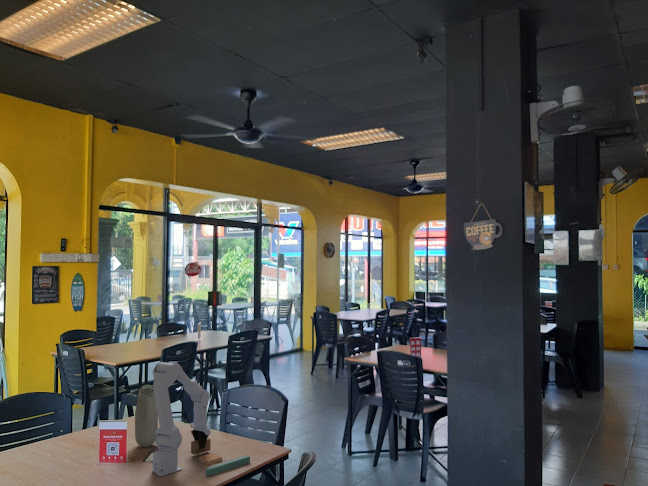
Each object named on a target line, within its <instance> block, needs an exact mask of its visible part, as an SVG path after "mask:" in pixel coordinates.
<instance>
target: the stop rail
mask: <svg viewBox="0 0 648 486" xmlns="http://www.w3.org/2000/svg"><path fill="white" fill-rule="evenodd" d="M249 463H251V457H250V455H244V456H241V457H236V458H235V459H231V460H228V461H224V462H221V463H219V464H215V465H212V466H211V465H210V466H209V467H205V475H206V476H207V477H211V476H213V475H217V474H219V473H222V472H226V471H228V470H231V469H234V468H236V467H237V468H238V467H241V466H243V465H246V464H249Z"/></svg>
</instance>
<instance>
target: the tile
mask: <svg viewBox="0 0 648 486" xmlns="http://www.w3.org/2000/svg"><path fill="white" fill-rule="evenodd" d="M199 461H200V462H202V463H204V464H205V465H207V466H211V465H213V464H216V463H219V462H223V456H221V455H219V454H218V453H216V452H212V453H209V454H205V455H202V456H199Z"/></svg>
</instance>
